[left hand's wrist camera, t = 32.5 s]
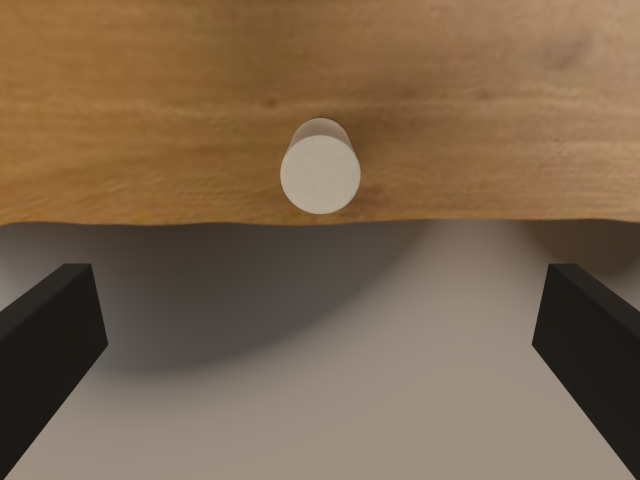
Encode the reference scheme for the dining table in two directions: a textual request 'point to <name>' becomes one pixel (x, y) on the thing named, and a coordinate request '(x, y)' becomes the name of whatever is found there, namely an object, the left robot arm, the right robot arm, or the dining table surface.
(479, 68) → the dining table surface
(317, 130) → the canister
